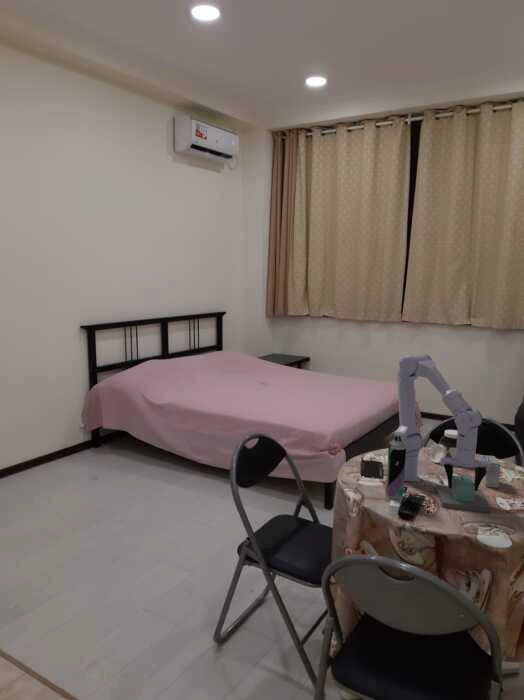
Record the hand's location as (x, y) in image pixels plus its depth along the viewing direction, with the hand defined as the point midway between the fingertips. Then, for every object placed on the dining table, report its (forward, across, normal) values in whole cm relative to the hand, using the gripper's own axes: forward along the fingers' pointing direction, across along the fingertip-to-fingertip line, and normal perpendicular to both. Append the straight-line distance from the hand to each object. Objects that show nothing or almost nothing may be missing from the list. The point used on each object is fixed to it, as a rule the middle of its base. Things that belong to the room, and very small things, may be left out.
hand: (462, 488), depth 160 cm
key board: (+4, 0, 0) cm, 4 cm away
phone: (+4, -28, +19) cm, 34 cm away
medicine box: (+4, +12, +17) cm, 21 cm away
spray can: (+4, -21, -2) cm, 21 cm away
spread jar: (+4, +1, +35) cm, 35 cm away
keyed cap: (+2, 0, 0) cm, 2 cm away
